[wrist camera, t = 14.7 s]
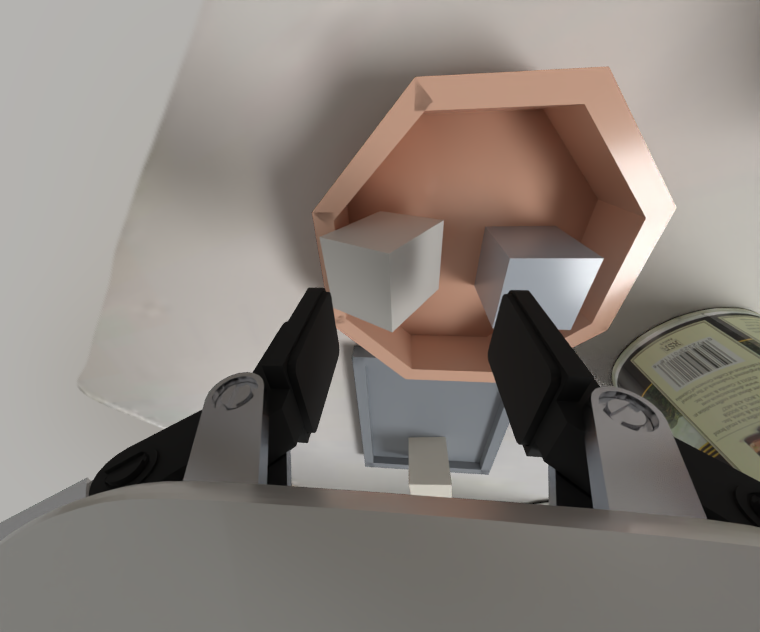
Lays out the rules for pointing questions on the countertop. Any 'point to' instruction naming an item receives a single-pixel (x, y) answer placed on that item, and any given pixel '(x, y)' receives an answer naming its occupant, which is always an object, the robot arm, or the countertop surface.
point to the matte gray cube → (536, 270)
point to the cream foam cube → (429, 467)
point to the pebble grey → (383, 266)
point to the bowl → (501, 199)
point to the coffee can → (703, 381)
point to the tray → (426, 416)
